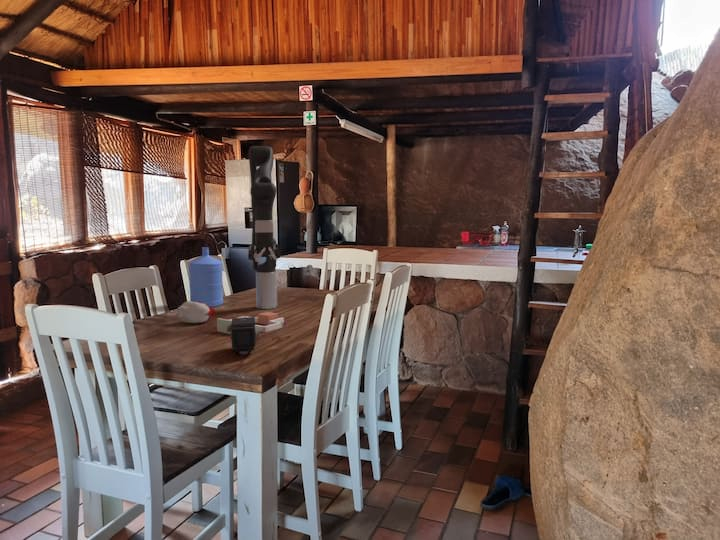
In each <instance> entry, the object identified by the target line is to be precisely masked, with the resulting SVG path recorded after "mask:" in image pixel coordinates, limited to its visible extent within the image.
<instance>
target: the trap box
mask: <svg viewBox="0 0 720 540" xmlns="http://www.w3.org/2000/svg"><path fill="white" fill-rule="evenodd" d="M247 317H249V316H247V315H246V316H245V315H243V316H238V317H237V318H247ZM254 319H255V329H256V331H259V333H260V332H262V333H267V332H272V331H276V330H280V329H282V328H284V323H285V318H284V317H278V319H274V320H270V321H268V325H260V324H259V325H258V316H255V317H254ZM231 323H232V318H230V319H226V318H220V317H218V318H216V325H217V326H216V327H217V328H216V329H217V330H216V331H217V332H219V333H224V334H229V335H230V332H227V324H228V325H229V324H231Z"/></svg>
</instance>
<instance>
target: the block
mask: <svg viewBox="0 0 720 540" xmlns="http://www.w3.org/2000/svg"><path fill="white" fill-rule="evenodd" d="M257 317H258V322H257V324H259V325H260V324H261V325H264V326H267V325H268V321H270V320H274V319H278V318H279V313H276V312H271V311H264V312H262V313H258V314H257Z"/></svg>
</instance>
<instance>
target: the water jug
mask: <svg viewBox="0 0 720 540" xmlns="http://www.w3.org/2000/svg"><path fill="white" fill-rule="evenodd" d="M201 249H202V251H201V253H202V254H201V256H199V257H198V258H195V259H194V260H191V261H190V262H189V265H188V273H189V297H190V298H189V301H192V302H202V303H204V304H207V305H208V306H209V308H213V307H214V308H215V307H219V306H222V305H223V304H224V297H223V296H224V290H223V287H224V286H223V269H224V267H223V262H222V261H221V260H220V259H216V258H215V257H212V256H211V255H210V249H209V247H208V246H205V247H201Z"/></svg>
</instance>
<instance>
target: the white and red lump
mask: <svg viewBox="0 0 720 540" xmlns="http://www.w3.org/2000/svg"><path fill="white" fill-rule="evenodd" d="M175 311H176V313H175V314H176V316H177V318H179V319H181V320H182V322H184V323H185V324H201V323H203V324H204V323H207V322H208V320H209V318H210V316H211V317H212V316H214V315H215V313H216V309H215V308H213V307H209V306H208V305H207V304H204V303H202V302H192V301H190V300H188V301H185V302H183V303H182V304H181V306H180V305H179V306H178V307H177V308H176V310H175Z"/></svg>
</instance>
